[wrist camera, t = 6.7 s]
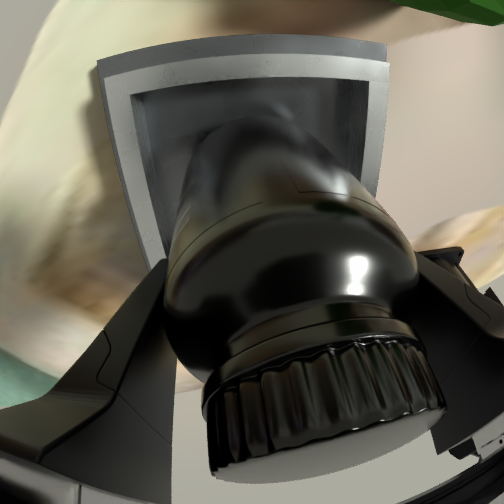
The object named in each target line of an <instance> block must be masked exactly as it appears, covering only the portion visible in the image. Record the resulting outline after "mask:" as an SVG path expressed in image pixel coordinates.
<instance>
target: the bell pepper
mask: <svg viewBox="0 0 504 504" xmlns="http://www.w3.org/2000/svg"><path fill="white" fill-rule="evenodd" d="M388 1H391V2H394V3H397V4H399V5H403V6H407V7H410V8H414V9H418V10H421V11H425V12H429V13H433V14H437V15H441V16H444V17H448V18H451V19H454V20H457V21H460V22H468V23H475V24H482V25H488V26H496V25H500V24H504V0H388Z"/></svg>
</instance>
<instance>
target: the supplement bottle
mask: <svg viewBox="0 0 504 504" xmlns="http://www.w3.org/2000/svg"><path fill="white" fill-rule="evenodd" d="M418 297H419V270H418V264H417V260H416V257H415V254H414V251H413V249H412V247H411V245H410V243H409V241H408V240H407V238H406V237H405V235H404V234H403V232H402V231H401V230H400V228H399V227H398V226H397V224H396V223H395V222H394V220H393V219H392V218H391V217H390V216H389V214H388V213H387V212H386V211H385V210H384V209H383V207H382V206H381V205H380V204H379V203H378V202H377V201H376V200H375V198H374V197H373V196H372V195H371V194H370V193H369V192H368V191H367V189H366V188H365V187H364V186H363V185H362V184H361V183H360V182H359V181H358V180H357V179H356V178H355V177H354V176H353V175H352V174H351V172H350V171H349V170H348V169H347V168H346V167H345V166H344V165H343V164H342V163H341V162H340V161H339V160H338V159H337V158H336V157H335V156H334V155H333V154H332V153H331V152H330V151H329V150H328V149H327V148H326V147H325V146H324V145H322V144H321V143H320V142H319V141H318V140H317V139H316V138H315V137H314V136H312V135H311V134H310V133H309V132H308V131H306V130H305V129H304V128H302V127H300V126H299V125H297V124H295V123H293V122H291V121H288V120H286V119H282V118H279V117H274V116H264V115H258V116H248V117H243V118H239V119H236V120H233V121H230V122H228V123H226V124H224V125H222V126H220V127H219V128H217V129H216V130H214V131H213V132H212V133H210V134H209V135H208V136H207V137H206V138H205V139H204V140H203V141H202V142H201V143H200V144H199V146H198V147H197V149H196V150H195V152H194V153H193V155H192V157H191V159H190V161H189V164H188V166H187V169H186V173H185V177H184V180H183V185H182V190H181V194H180V199H179V204H178V209H177V215H176V220H175V225H174V231H173V236H172V242H171V248H170V254H169V260H168V266H167V273H166V280H165V287H164V296H163V324H164V329H165V333H166V336H167V339H168V341H169V343H170V346H171V348H172V350H173V351H174V353H175V355H176V356H177V358H178V359H179V361H180V362H181V363H182V364H183V366H184V367H185V368H186V369H187V370H188V371H189V372H190V373H191V374H192V375H193V376H194V377H196V378H197V379H198V380H200V381H201V382H203V383H204V385H203V388H202V396H201V397H202V399H201V405H202V406H201V408H202V416H203V418H204V420H205V421H206V422H207V441H208V456H209V467H210V472H211V475H212V476H214V477H216V479H220V480H224V481H228V482H235V483H250V484H258V483H259V484H261V483H278V482H287V481H294V480H301V479H306V478H312V477H316V476H321V475H325V474H329V473H333V472H337V471H340V470H344V469H347V468H350V467H354V466H357V465H359V464H362V463H365V462H367V461H370V460H373V459H375V458H378V457H380V456H382V455H385V454H387V453H389V452H391V451H393V450H395V449H397V448H399V447H401V446H403V445H405V444H407V443H409V442H411V441H412V440H414V439H416V438H417V437H419V436H420V435H421V434H423V433H425V432H426V431H428V430H429V429H430V428H432V427H433V426H434V425H435V424H437V423H438V422H439V421H440V419H442V418H443V417H444V416H445V413H446V412H447V410H448V408H447V403H446V400H445V398H444V395H443V393H442V390H441V388H440V386H439V383H438V381H437V379H436V377H435V375H434V373H433V370H432V368H431V366H430V364H429V362H428V360H427V350H426V347H425V345H424V343H423V342H422V340H421V338H420V336H419V334H418V333H417V331H416V330H415V329H414V328H413V327H412V326H411V325H410V323H411V321H412V319H413V316H414V314H415V311H416V307H417V303H418Z"/></svg>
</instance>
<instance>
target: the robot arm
mask: <svg viewBox="0 0 504 504" xmlns="http://www.w3.org/2000/svg"><path fill="white" fill-rule="evenodd" d="M413 251H414V250H413ZM414 254H415V257H416V260H417V264H418V270H419V297H418V303H417V307H416V311H415V314H414V316H413V319H412V321H411V323H410V325H411V326H412V327H413V328H414V329H415V330H416V331H417V333H418V334H419V336H420V338H421V340H422V342H423V343H424V345H425V347H426V350H427V360H428V362H429V364H430V366H431V368H432V370H433V373H434V375H435V377H436V379H437V381H438V383H439V386H440V388H441V390H442V393H443V395H444V398H445V400H446V403H447V408H448V410H447V412H446V413H445V416H444V417H443V418H442V419H440V421H439V422H438V423H437V424H435V425H434V426H433V427H432V428H430V430H431V434H432V437H433V441H434V445H435V449H436V453H437V455H439V454H441V453H443V452H445V451H447V450H449V452H450V454H451V455H453V456H454V457H456V458H457V459H459V460H461V459H463V458H465V457H466V456H468V455H470V454H471V455H474V456H476V457H479V461H478V463H477V464H475V465H473V466H472V467H470V468H468V469H466V470H465V471H463V472H461V473H460V474H458V475H456V476H454V477H453V478H451V479H449V480H447V481H445V482H443V483H441V484H439V485H437V486H435V487H433V488H431V489H429V490H427V491H425V492H423V493H420V494H418V495H416V496H414V497H411V498H409V499H407V500H404V501H402V502H400V503H397V504H504V306H503V305H502V303H501V302H500V300H499V299H498V297H497V296H496V295H495V293H494V292H493V291H492V289H491V288H490V287H489V288H488V289H487V290H486V291H485V292H486V293H485V294H484V295H483V294H481V293H480V292H479V291H478V290H477V288H476V287H475V286H474V284H473V283H472V282H471V280H470V279H469V278H468V276H467V275H466V274H465V272H464V271H463V270H462V268H461V267H460V266H459V263H460V261H461V258H462V256H463V254H464V250H463V249H462V248H461V247H455V248H448V249H441V250H434V251H428V252H421V253H417V252H415V251H414ZM168 260H169V258H164V259H160V260H159V261H158V263H157V264H156V265H155V266H154V267H153V268H152V270H151V271H150V272H149V273H148V274H147V275H146V277H145V278H144V279H143V280H142V281H141V283H140V284H139V285H138V286H137V287H136V289H135V290H134V291H133V292H132V293H131V295H130V296H129V297H128V298H127V300H126V301H125V302H124V303H123V304H122V306H121V307H120V308H119V309H118V311H117V312H116V313H115V314H114V316H113V317H112V318H111V319H110V321H109V322H108V323H107V324H106V326H105V327H104V328H103V329H104V330H102V331H101V332H100V333H99V335H98V336H97V337H96V338H95V340H94V341H93V342H92V343H91V345H90V346H89V347H88V348H87V350H86V351H85V352H84V353H83V354H82V355H81V356H80V358H79V359H78V360H77V361H76V362H75V363H74V364H73V365H72V367H71V368H70V369H69V370H68V371H67V372H66V373H65V374H64V375H63V377H62V378H61V379H60V380H59V381H58V382H57V383H56V384H55V386H54V387H53V388H52V389H51V390H50V391H49V392H47V393H46V394H45V395H43V396H42V397H40V398H38V399H35V400H32V401H28V402H25V403H22V404H18V405H15V406H11V407H8V408H4V409H1V410H0V504H171V468H172V446H171V445H172V431H173V410H174V409H173V408H174V394H175V379H176V366H177V356H176V355H175V353H174V351H173V350H172V348H171V346H170V343H169V341H168V339H167V336H166V333H165V329H164V324H163V296H164V287H165V280H166V273H167V266H168Z"/></svg>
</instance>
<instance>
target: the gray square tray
mask: <svg viewBox="0 0 504 504" xmlns="http://www.w3.org/2000/svg"><path fill="white" fill-rule="evenodd" d="M386 55H387V44H381V43H376V42H370V41H363V40H356V39H349V38H340V37H330V36H318V35H301V34H248V35H231V36H219V37H209V38H200V39H192V40H185V41H179V42H173V43H167V44H162V45H156V46H151V47H147V48H142V49H138V50H133V51H129V52H125V53H122V54H118V55H114V56H111V57H107V58H104V59H100V60H97V66H98V73H99V80H100V86H101V92H102V98H103V103H104V109H105V114H106V119H107V124H108V129H109V133H110V138H111V142H112V147H113V151H114V155H115V160H116V164H117V168H118V172H119V176H120V179H121V183H122V187H123V191H124V194H125V198H126V201H127V205H128V208H129V212H130V215H131V219H132V222H133V225H134V228H135V232H136V235H137V238H138V241H139V244H140V247H141V250H142V253H143V256H144V259H145V262H146V265H147V268H148V271H149V272H150V271H151V270H152V268H153V267H154V266H155V265H156V264H157V263H158V261H159V260H160V259H164V258H169V254H170V248H171V242H172V236H173V231H174V225H175V220H176V215H177V209H178V204H179V199H180V194H181V190H182V185H183V180H184V177H185V173H186V169H187V166H188V164H189V161H190V159H191V157H192V155H193V153H194V152H195V150H196V149H197V147H198V146H199V144H200V143H201V142H202V141H203V140H204V139H205V138H206V137H207V136H208V135H209V134H210V133H212V132H213V131H214V130H216V129H217V128H219V127H220V126H222V125H224V124H226V123H228V122H230V121H233V120H236V119H239V118H243V117H248V116H258V115H264V116H274V117H279V118H282V119H286V120H288V121H291V122H293V123H295V124H297V125H299V126H300V127H302V128H304V129H305V130H306V131H308V132H309V133H310V134H311V135H312V136H314V137H315V138H316V139H317V140H318V141H319V142H320V143H321V144H322V145H324V146H325V147H326V148H327V149H328V150H329V151H330V152H331V153H332V154H333V155H334V156H335V157H336V158H337V159H338V160H339V161H340V162H341V163H342V164H343V165H344V166H345V167H346V168H347V169H348V170H349V171H350V172H351V174H352V175H353V176H354V177H355V178H356V179H357V180H358V181H359V182H360V183H361V184H362V185H363V186H364V187H365V188H366V189H367V191H368V192H369V193H370V194H371V195H372V196H373V197H374V198H375V196H376V191H377V185H378V178H379V171H380V165H381V158H382V150H383V141H384V132H385V123H386V112H387V101H388V86H389V65H390V64H389V63H387V62H386Z"/></svg>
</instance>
